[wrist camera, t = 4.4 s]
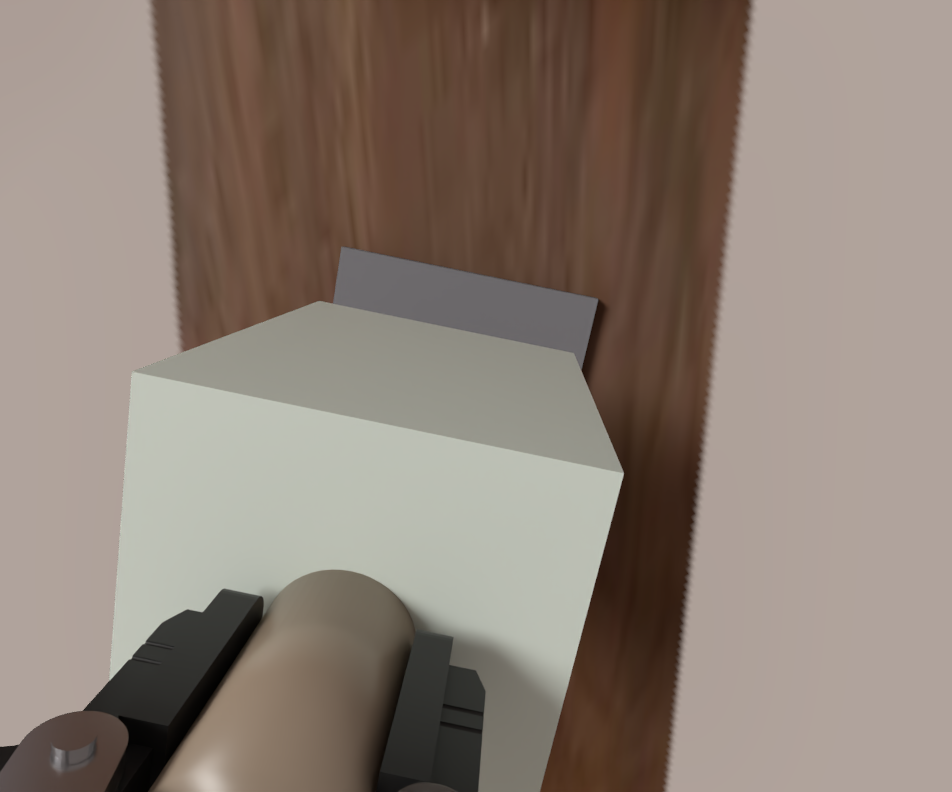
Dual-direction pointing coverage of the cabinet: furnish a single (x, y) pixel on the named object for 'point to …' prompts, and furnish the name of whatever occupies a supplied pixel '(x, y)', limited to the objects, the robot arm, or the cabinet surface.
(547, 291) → the mat
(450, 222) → the cabinet surface
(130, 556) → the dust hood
